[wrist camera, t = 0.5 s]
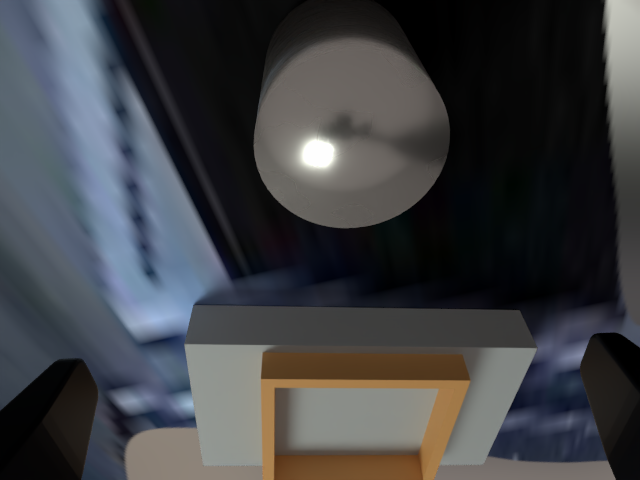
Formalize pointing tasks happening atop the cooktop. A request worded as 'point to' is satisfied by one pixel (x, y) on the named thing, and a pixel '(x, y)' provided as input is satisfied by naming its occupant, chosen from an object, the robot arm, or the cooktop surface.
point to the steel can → (347, 116)
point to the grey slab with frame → (352, 388)
